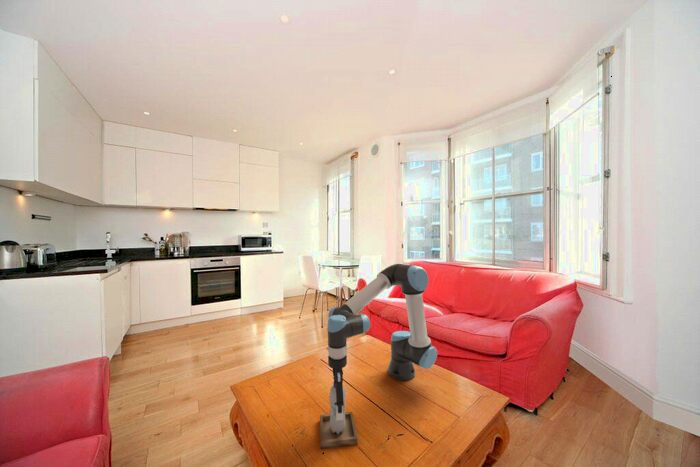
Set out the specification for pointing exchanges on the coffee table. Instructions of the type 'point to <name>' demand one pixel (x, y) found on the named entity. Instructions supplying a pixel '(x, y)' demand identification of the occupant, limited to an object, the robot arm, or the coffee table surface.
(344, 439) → the tray
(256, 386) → the coffee table surface
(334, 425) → the bottle
